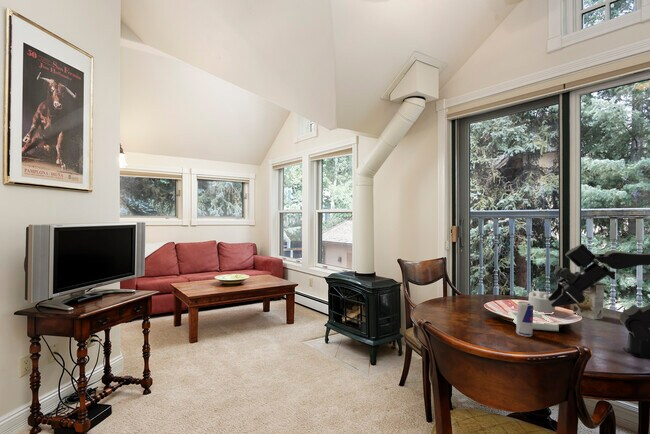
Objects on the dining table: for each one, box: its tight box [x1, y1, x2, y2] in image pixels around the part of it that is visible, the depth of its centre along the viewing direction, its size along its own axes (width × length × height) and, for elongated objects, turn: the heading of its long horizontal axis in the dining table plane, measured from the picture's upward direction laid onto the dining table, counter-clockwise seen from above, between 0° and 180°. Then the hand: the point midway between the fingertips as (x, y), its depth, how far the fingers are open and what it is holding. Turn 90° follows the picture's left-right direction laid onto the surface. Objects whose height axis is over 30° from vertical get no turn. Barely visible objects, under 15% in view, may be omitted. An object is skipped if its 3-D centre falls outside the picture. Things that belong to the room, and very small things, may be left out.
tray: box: [507, 311, 560, 332], centre depth 141 cm, size 14×14×2 cm
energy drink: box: [515, 301, 534, 338], centre depth 128 cm, size 5×5×12 cm
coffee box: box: [572, 281, 605, 320], centre depth 152 cm, size 9×6×16 cm
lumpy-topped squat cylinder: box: [528, 290, 556, 313], centre depth 159 cm, size 10×13×9 cm
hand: (550, 302), depth 124 cm, fingers open, 9 cm apart
